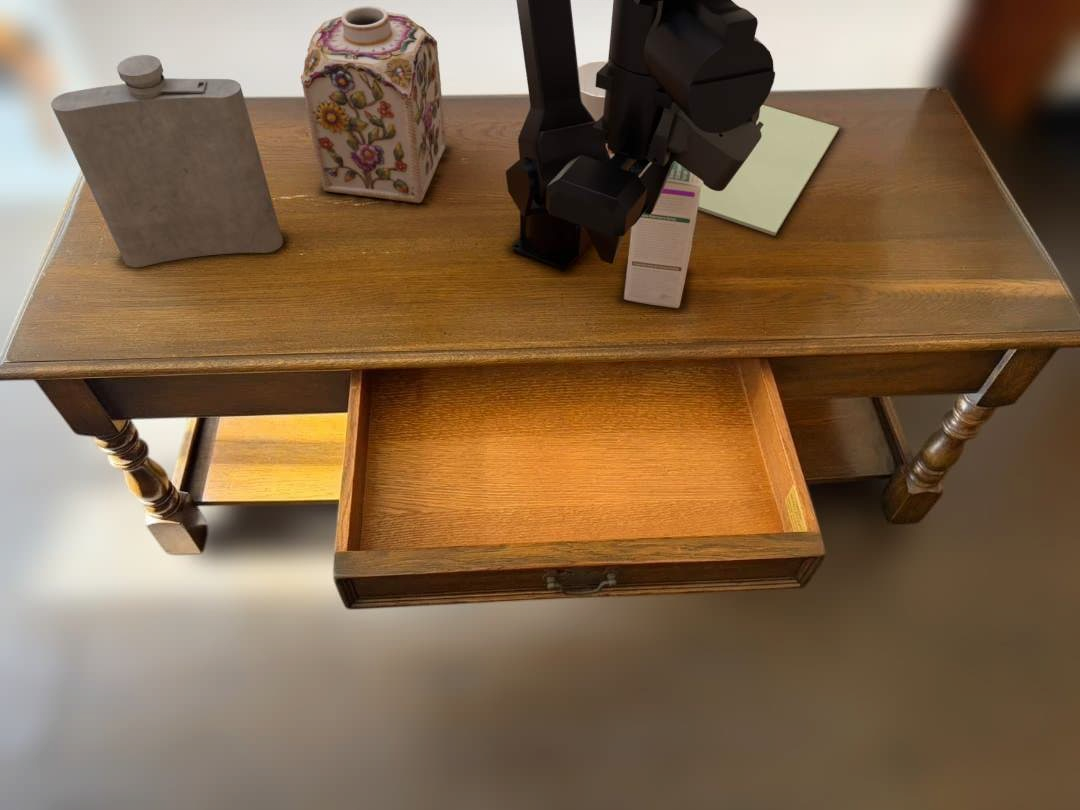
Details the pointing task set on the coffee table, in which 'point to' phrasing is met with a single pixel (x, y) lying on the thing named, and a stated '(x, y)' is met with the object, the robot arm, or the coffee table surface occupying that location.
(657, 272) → the syrup box
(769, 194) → the paper notepad
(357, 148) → the decorative jar
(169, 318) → the coffee table surface
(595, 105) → the white cup
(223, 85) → the hip flask
